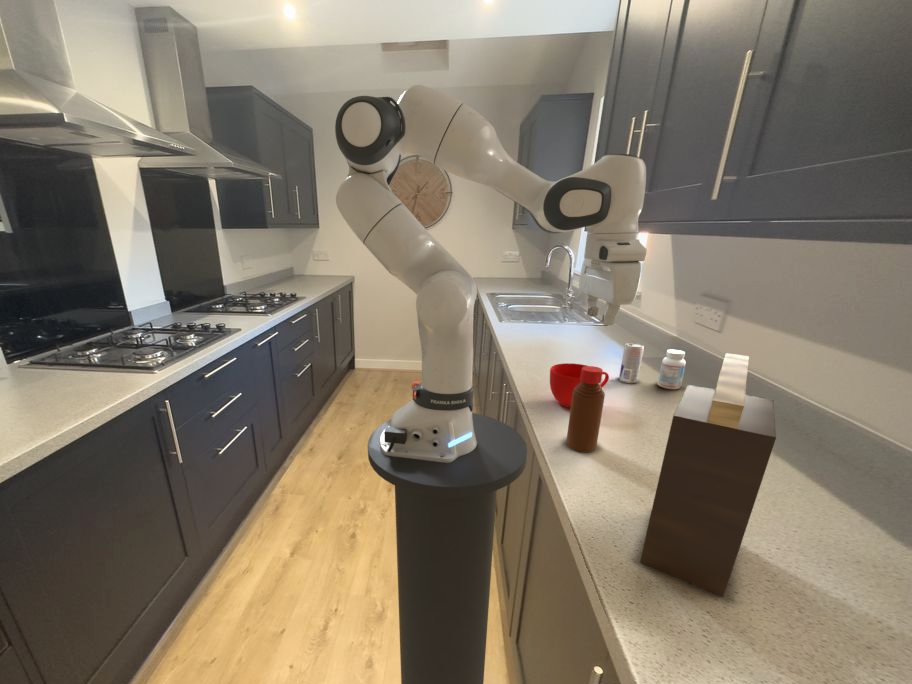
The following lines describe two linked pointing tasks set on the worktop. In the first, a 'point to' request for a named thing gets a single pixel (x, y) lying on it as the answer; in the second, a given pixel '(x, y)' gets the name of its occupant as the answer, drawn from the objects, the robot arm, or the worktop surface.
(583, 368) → the cap
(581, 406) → the bottle
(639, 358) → the energy drink
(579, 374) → the ceramic cup
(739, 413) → the bar
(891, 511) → the worktop surface
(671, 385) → the pill bottle
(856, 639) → the worktop surface
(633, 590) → the worktop surface
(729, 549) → the pedestal
